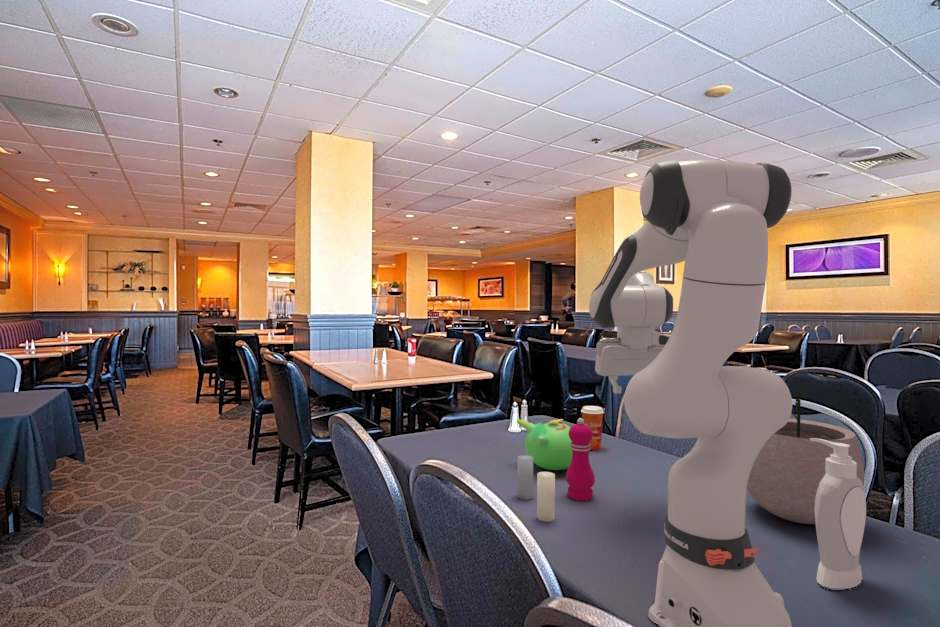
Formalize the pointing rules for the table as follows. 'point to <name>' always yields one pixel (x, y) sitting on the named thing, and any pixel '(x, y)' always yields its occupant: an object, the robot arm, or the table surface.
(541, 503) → the cream post
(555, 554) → the table surface
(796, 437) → the plant pot
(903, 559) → the table surface
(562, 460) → the toy bird
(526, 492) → the slate post
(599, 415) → the paper cup
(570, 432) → the pepper mill
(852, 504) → the soap bottle
